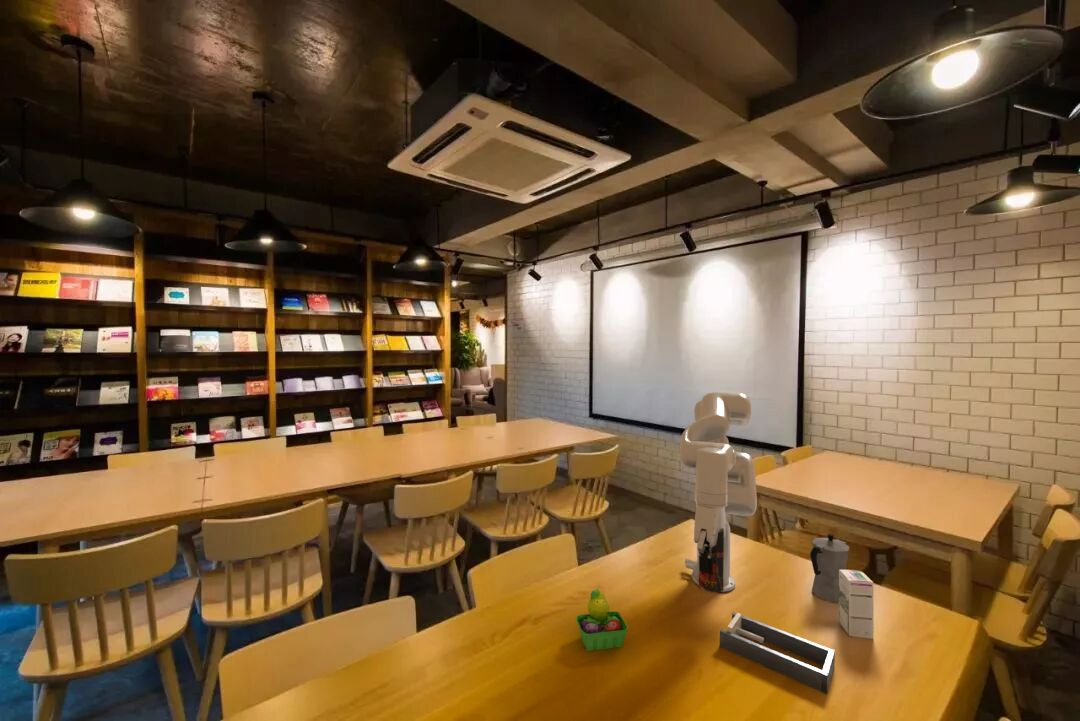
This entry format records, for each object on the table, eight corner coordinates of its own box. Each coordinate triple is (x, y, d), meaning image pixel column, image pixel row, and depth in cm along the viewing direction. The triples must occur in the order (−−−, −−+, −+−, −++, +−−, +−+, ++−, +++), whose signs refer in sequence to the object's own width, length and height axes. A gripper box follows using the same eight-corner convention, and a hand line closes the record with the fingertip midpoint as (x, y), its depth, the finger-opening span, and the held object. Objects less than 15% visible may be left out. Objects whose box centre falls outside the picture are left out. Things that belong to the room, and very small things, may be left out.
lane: (719, 646, 106) (719, 630, 106) (733, 627, 113) (733, 611, 113) (826, 694, 91) (827, 675, 91) (834, 667, 99) (834, 650, 99)
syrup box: (874, 639, 108) (875, 582, 108) (847, 636, 109) (848, 579, 109) (862, 625, 114) (863, 570, 113) (837, 622, 115) (838, 568, 115)
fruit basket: (583, 655, 103) (583, 608, 103) (574, 631, 112) (574, 588, 112) (629, 650, 105) (629, 604, 105) (616, 627, 114) (616, 584, 113)
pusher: (727, 644, 106) (727, 626, 106) (737, 629, 111) (737, 612, 111) (758, 658, 101) (758, 639, 101) (767, 642, 107) (767, 623, 107)
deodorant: (694, 580, 114) (695, 523, 114) (716, 579, 115) (716, 523, 115) (705, 593, 108) (705, 533, 108) (727, 591, 109) (728, 532, 109)
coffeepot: (827, 581, 135) (827, 524, 135) (860, 597, 127) (861, 536, 126) (795, 594, 128) (795, 533, 128) (828, 611, 120) (828, 546, 119)
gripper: (709, 486, 120) (708, 551, 120) (683, 502, 107) (682, 575, 108) (737, 492, 115) (737, 560, 116) (714, 510, 102) (713, 586, 103)
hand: (711, 566), depth 112 cm, fingers closed on deodorant, 5 cm apart
